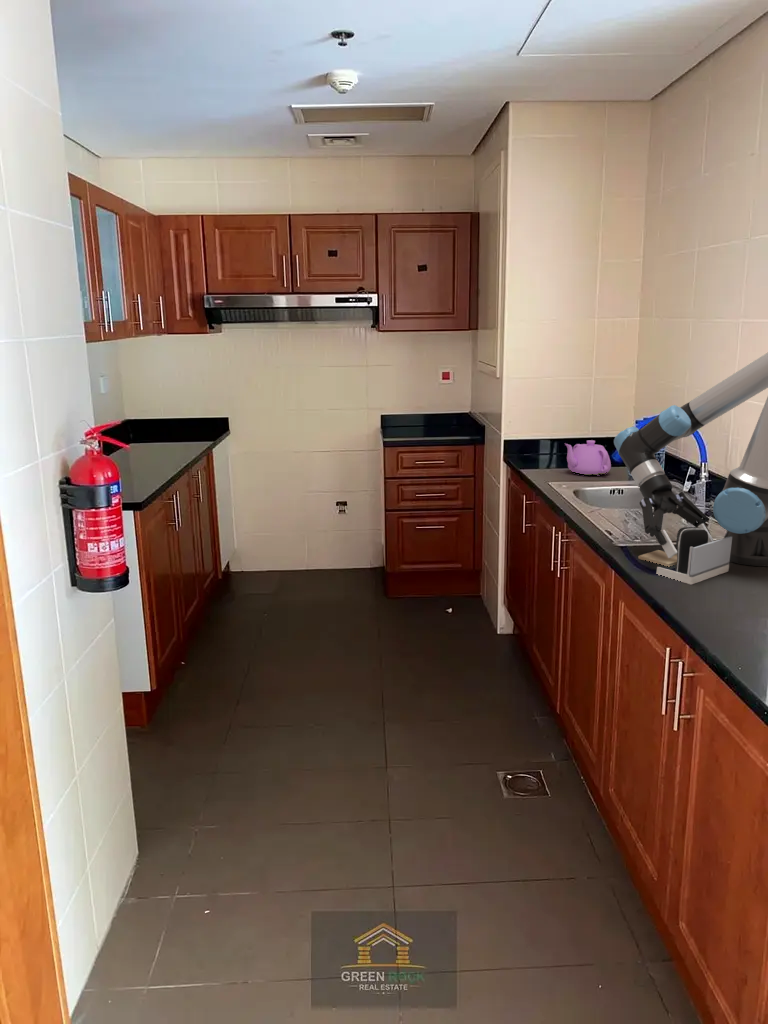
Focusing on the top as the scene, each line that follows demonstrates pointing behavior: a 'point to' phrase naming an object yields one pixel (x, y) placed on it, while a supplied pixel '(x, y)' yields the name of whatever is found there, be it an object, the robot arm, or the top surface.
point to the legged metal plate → (703, 562)
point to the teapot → (588, 458)
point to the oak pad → (659, 558)
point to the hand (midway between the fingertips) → (693, 551)
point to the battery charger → (688, 545)
